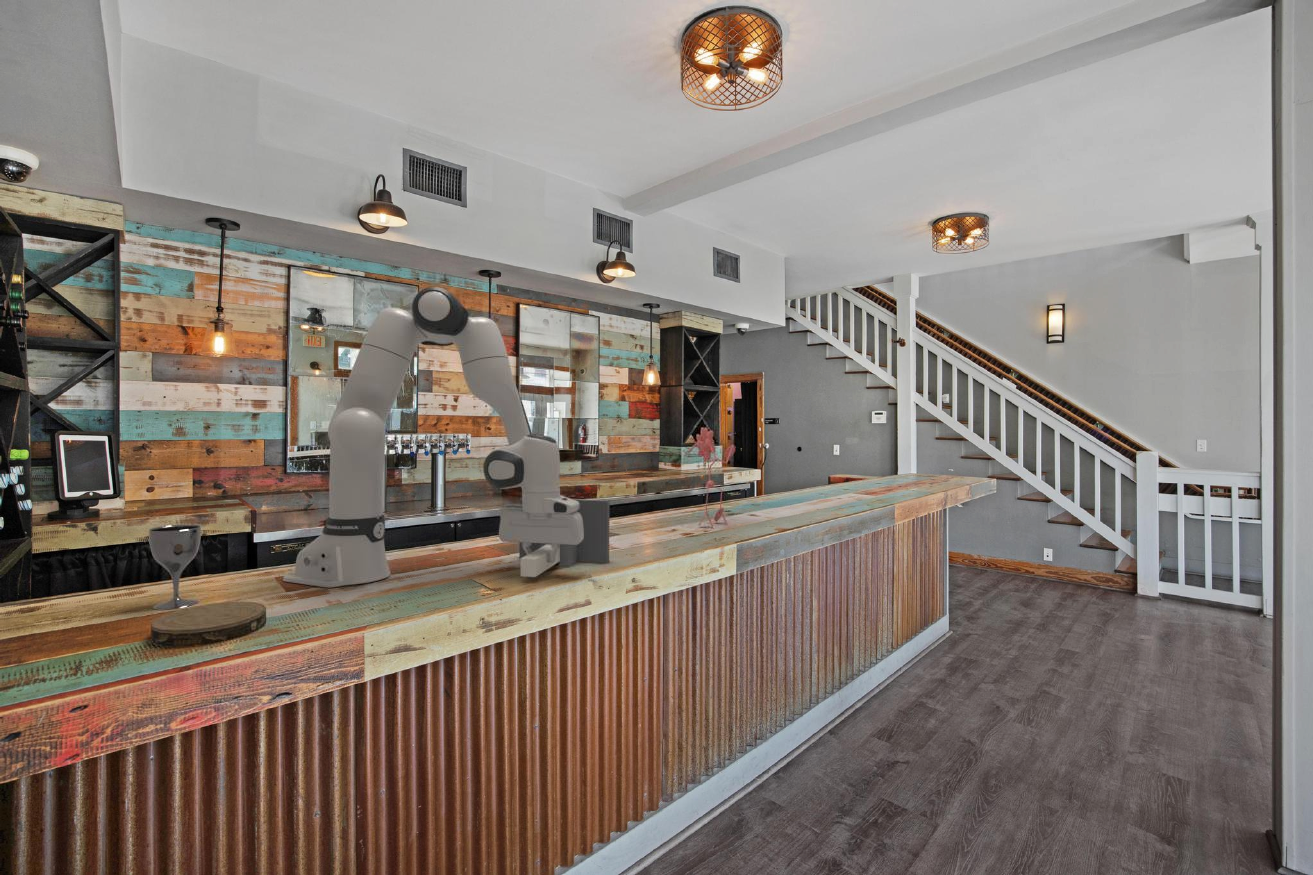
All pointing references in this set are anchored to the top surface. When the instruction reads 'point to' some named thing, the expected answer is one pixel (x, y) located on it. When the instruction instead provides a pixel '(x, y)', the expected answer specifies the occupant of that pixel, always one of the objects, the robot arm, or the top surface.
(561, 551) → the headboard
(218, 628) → the wood slice coaster
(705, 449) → the pink spindly flower stalk
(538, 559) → the rail
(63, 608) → the top surface
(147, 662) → the top surface
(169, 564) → the wine glass
